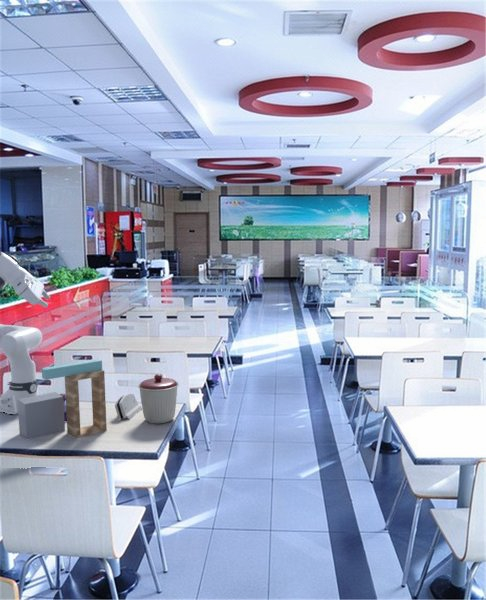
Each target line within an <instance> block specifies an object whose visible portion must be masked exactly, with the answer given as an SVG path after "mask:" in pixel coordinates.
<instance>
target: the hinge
mask: <svg viewBox="0 0 486 600" xmlns="http://www.w3.org/2000/svg"><path fill="white" fill-rule="evenodd" d="M114 408H115V412H116V415H117V418H118V420H119V419H121V420H122V419H126V418H127V419H130V420H131V419H132V418H133V416H134V415H135V414H136V413H137V414H138V413H139V412H140V410H141V409H142V404H139V403H138V401H137V399H136V397H135V394H134V393H127V394H125V395H122V396H120V397H119V398H118V399H117V400H116V402H115V403H114ZM142 410H143V409H142ZM142 410H141V411H142ZM137 414H136V415H137ZM136 415H135V416H136Z"/></svg>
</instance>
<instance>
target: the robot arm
mask: <svg viewBox="0 0 486 600" xmlns="http://www.w3.org/2000/svg"><path fill="white" fill-rule="evenodd" d="M8 284H9V285H10V286H11V287H12V288H13V290H14V293H15V294H16V295H17V296H19V295H20V297H21V298H23V299H24V300H25V301H26V302H28V303H29V304H31V305H33V306H36V305H37V304H38V305H40V306H42V307H43V308H44V309H46V308H48V307H49V303H48V302H47V301H49V300H50V299H51V296H50V295H49V294H48V293H47V291H46V290H45V289H44V288H45V285H44V284H43V282H41V281H40V280H39V279H37V277H35V276H33V275H32V273H30V272H28V270H26V269H25V268H24V267H21V263H20V261H19V259H18V258H17V257H16V256H15V255H13V254H9V253H4V252H2V251H0V291H1V290H2V289H4V288H5V287H6V286H7V285H8ZM42 297H43V298H44V299H45V300H46V301H44V300H43V299H42ZM42 341H43V333H42V331H41V329H39V328H37V327H35V326H34V327H33V326H32V327H31V326H22V325H21V326H20V325H12V324H11V325H10V324H2V323H0V351H1V352H2V354H4V355H5V356H6V358H7V360H8V364H9V366H10V369H9V370H10V378H11V380H10V381H9V382H7V386H9V387H8V389H7V390H5V392H4V393H3V394H1V395H0V413H3V412H5V413H4V414H6V413H7V414H6V415H9V414H13V415H18V414H17V413H18V399H22V398H27V397H32V396H38V395H40V394H39V389H38V378H37V370H36V363H35V361H34V360H32V359H31V356H30V350H33V349H36V348H37V347H39V345H40V344H41V343H42Z"/></svg>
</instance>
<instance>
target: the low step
mask: <svg viewBox="0 0 486 600" xmlns="http://www.w3.org/2000/svg"><path fill="white" fill-rule="evenodd" d="M60 394H61V393H58V392H56V391H54V392H49V393H48V392H47V393H43V394H39V395H38V396H32V397H27V398H22V399H18V414H17V415H18V427H19V428H18V429H19V430H18V431H19V435H20V436H22V438H24V439H25V440H27V441H28V440H32V439H36V438H41V437H46V436H50V435H53V434H57V433H61V432H62V433H63V432H65V431H66V425H65V424H66V423H65V420H64V400H63V396H61V395H60Z"/></svg>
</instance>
